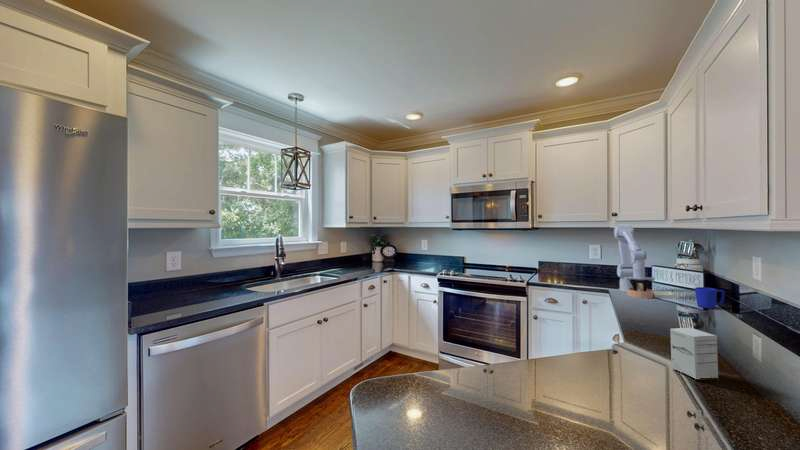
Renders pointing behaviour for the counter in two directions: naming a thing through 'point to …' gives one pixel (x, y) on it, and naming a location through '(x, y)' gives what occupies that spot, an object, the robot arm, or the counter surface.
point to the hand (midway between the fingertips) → (639, 292)
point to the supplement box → (694, 352)
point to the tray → (665, 294)
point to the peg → (640, 286)
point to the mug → (708, 297)
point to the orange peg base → (640, 293)
